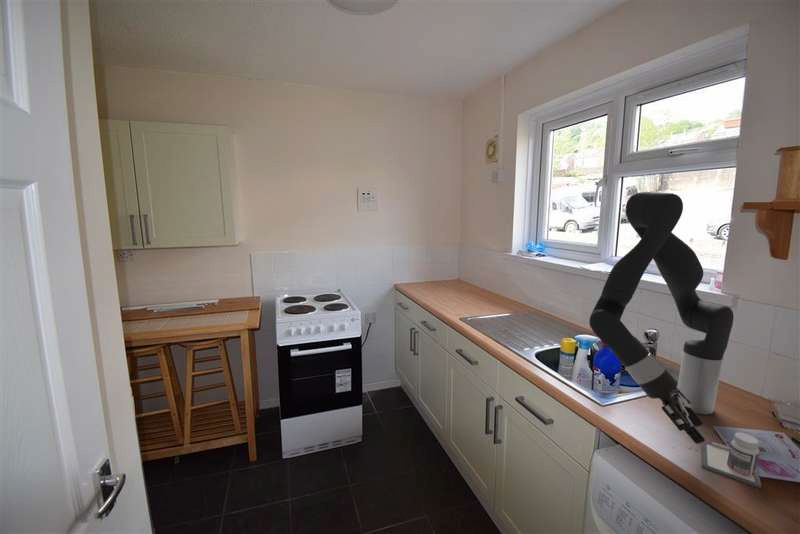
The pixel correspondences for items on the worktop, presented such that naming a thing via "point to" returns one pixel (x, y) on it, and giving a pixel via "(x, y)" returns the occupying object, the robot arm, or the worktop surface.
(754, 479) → the tray
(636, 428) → the worktop surface
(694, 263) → the robot arm
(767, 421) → the worktop surface
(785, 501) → the worktop surface
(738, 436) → the pill bottle
